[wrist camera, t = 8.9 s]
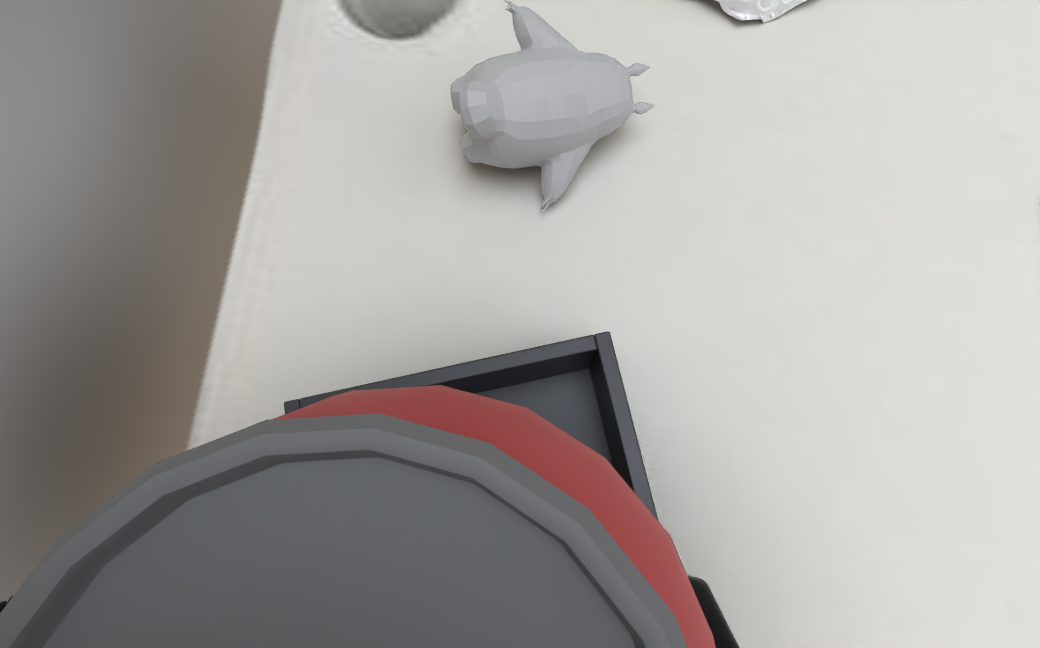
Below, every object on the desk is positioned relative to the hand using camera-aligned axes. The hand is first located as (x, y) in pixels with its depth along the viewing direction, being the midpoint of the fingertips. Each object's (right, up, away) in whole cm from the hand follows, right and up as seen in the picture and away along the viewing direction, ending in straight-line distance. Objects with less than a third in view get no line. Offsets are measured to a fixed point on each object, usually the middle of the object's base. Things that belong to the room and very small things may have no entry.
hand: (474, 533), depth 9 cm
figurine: (-2, +11, +12) cm, 17 cm away
